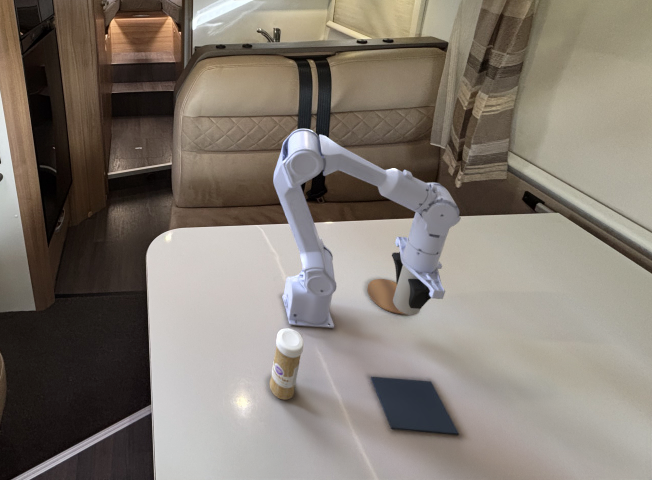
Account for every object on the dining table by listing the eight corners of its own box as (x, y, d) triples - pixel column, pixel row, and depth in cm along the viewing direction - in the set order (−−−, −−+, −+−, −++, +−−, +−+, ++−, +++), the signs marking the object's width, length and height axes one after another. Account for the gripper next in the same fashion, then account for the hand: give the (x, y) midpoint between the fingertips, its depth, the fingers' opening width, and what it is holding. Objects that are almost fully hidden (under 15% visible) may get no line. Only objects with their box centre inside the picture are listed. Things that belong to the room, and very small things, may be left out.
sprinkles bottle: (265, 390, 80) (272, 339, 75) (275, 371, 83) (283, 322, 78) (288, 406, 77) (298, 355, 72) (298, 387, 81) (308, 336, 76)
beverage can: (422, 318, 86) (437, 273, 81) (396, 314, 87) (410, 269, 82) (413, 299, 90) (427, 255, 86) (389, 296, 91) (401, 252, 87)
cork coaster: (377, 313, 96) (377, 311, 96) (360, 278, 105) (361, 277, 105) (424, 316, 95) (424, 314, 95) (403, 281, 104) (403, 280, 104)
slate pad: (391, 429, 74) (391, 427, 74) (370, 378, 82) (371, 376, 82) (458, 435, 73) (459, 433, 73) (430, 383, 81) (431, 381, 81)
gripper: (470, 273, 75) (449, 328, 80) (426, 220, 88) (411, 270, 94) (428, 271, 76) (410, 326, 81) (391, 219, 89) (378, 269, 94)
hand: (408, 296), depth 87 cm, fingers closed on beverage can, 5 cm apart
